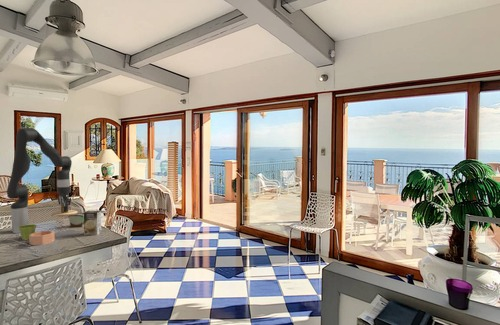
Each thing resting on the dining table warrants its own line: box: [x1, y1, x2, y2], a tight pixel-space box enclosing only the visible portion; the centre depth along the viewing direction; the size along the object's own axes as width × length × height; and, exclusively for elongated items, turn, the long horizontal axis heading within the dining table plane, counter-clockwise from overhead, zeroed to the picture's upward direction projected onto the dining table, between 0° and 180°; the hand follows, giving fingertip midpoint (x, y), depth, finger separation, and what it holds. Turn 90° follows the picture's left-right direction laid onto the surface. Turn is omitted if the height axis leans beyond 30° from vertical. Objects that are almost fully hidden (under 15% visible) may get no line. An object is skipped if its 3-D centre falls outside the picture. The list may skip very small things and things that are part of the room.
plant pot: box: [19, 224, 38, 241], centre depth 191 cm, size 9×9×9 cm
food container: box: [67, 212, 84, 228], centre depth 222 cm, size 12×6×10 cm, turn 84°
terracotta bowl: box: [28, 230, 56, 246], centre depth 184 cm, size 12×12×6 cm
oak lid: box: [51, 203, 79, 218], centre depth 199 cm, size 15×15×7 cm
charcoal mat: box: [54, 229, 84, 241], centre depth 200 cm, size 17×17×1 cm
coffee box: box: [83, 210, 102, 236], centre depth 201 cm, size 9×6×16 cm
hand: (64, 211), depth 199 cm, fingers closed on oak lid, 3 cm apart
